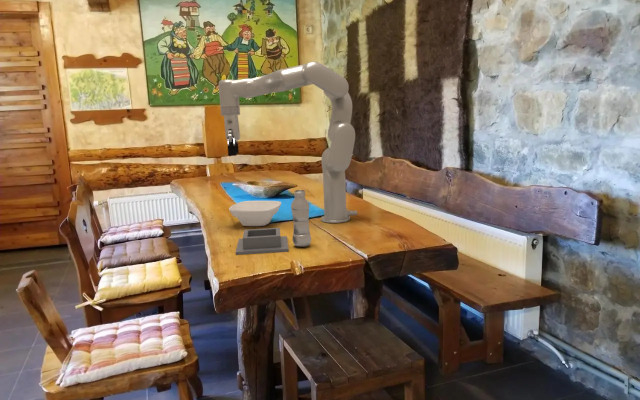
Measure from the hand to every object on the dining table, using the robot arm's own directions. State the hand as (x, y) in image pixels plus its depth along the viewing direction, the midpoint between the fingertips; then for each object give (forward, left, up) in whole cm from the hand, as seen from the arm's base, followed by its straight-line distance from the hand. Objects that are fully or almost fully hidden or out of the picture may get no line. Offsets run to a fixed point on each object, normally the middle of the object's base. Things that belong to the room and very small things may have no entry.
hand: (233, 154), depth 194 cm
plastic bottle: (-24, +32, -31) cm, 51 cm away
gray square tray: (-10, +29, -31) cm, 44 cm away
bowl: (-7, -5, -31) cm, 32 cm away
